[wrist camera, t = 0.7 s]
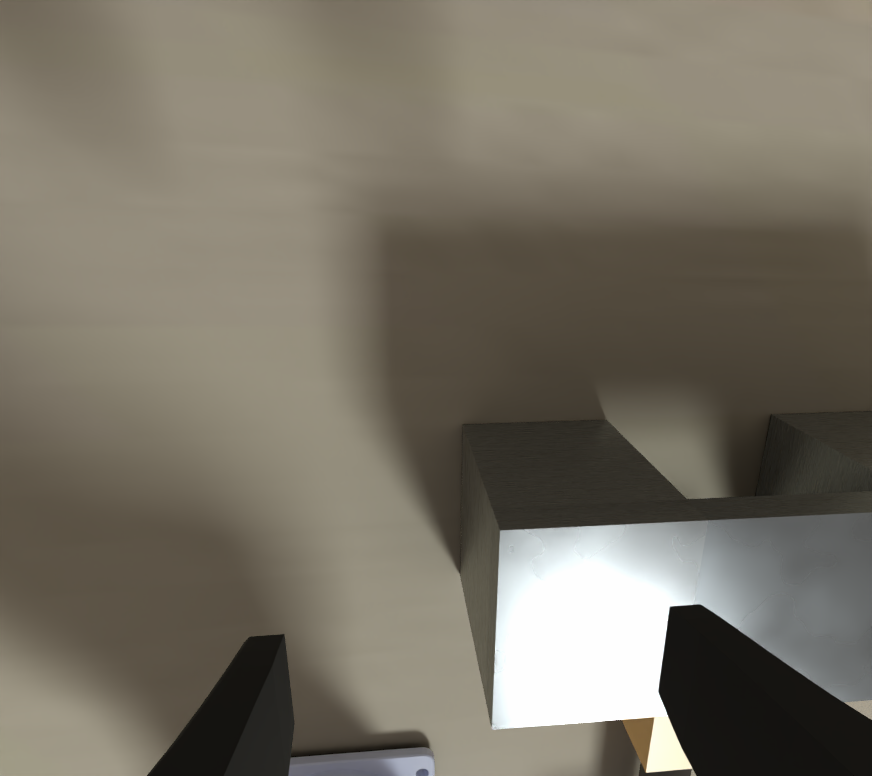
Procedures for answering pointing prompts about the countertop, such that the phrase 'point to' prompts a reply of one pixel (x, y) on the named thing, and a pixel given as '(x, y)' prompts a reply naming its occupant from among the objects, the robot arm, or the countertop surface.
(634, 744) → the bar with block ends
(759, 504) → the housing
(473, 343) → the countertop surface
